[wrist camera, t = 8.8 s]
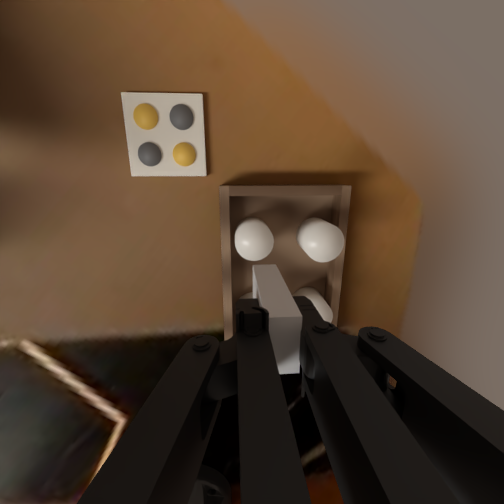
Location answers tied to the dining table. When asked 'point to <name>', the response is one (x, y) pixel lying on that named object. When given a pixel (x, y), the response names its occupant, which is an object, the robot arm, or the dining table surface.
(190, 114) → the pattern card
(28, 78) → the dining table surface
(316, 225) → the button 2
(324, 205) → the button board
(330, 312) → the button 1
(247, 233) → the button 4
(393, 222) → the dining table surface
